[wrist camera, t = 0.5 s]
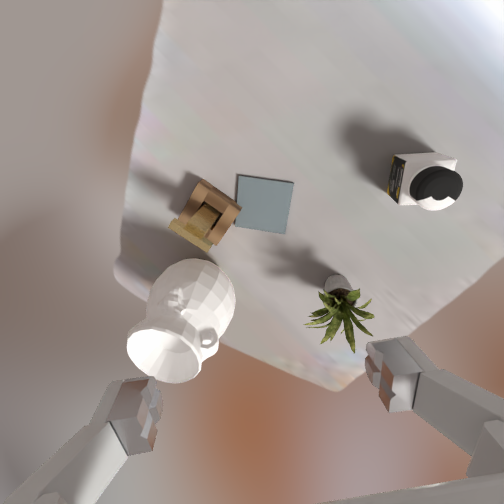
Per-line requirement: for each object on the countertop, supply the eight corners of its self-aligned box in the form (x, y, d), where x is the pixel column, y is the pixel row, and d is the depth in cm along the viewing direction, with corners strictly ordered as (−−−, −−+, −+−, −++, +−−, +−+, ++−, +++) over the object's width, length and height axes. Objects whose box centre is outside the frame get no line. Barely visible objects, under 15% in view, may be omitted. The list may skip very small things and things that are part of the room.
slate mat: (239, 175, 53) (238, 176, 52) (293, 182, 52) (293, 183, 51) (235, 225, 58) (235, 226, 58) (285, 233, 57) (284, 234, 57)
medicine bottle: (392, 154, 47) (418, 167, 36) (436, 151, 45) (477, 164, 35) (386, 193, 50) (408, 216, 40) (427, 192, 49) (462, 215, 38)
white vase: (242, 248, 61) (211, 326, 39) (242, 309, 70) (217, 400, 48) (166, 241, 63) (97, 311, 42) (176, 301, 72) (123, 384, 50)
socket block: (203, 178, 54) (198, 182, 52) (242, 206, 56) (240, 211, 53) (182, 215, 59) (177, 220, 56) (220, 239, 61) (216, 245, 58)
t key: (200, 193, 56) (174, 216, 44) (231, 215, 57) (213, 242, 45) (192, 206, 58) (165, 231, 46) (223, 227, 59) (204, 256, 47)
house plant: (319, 244, 57) (326, 288, 43) (380, 263, 57) (407, 314, 43) (297, 293, 64) (296, 345, 50) (351, 310, 64) (365, 367, 50)
